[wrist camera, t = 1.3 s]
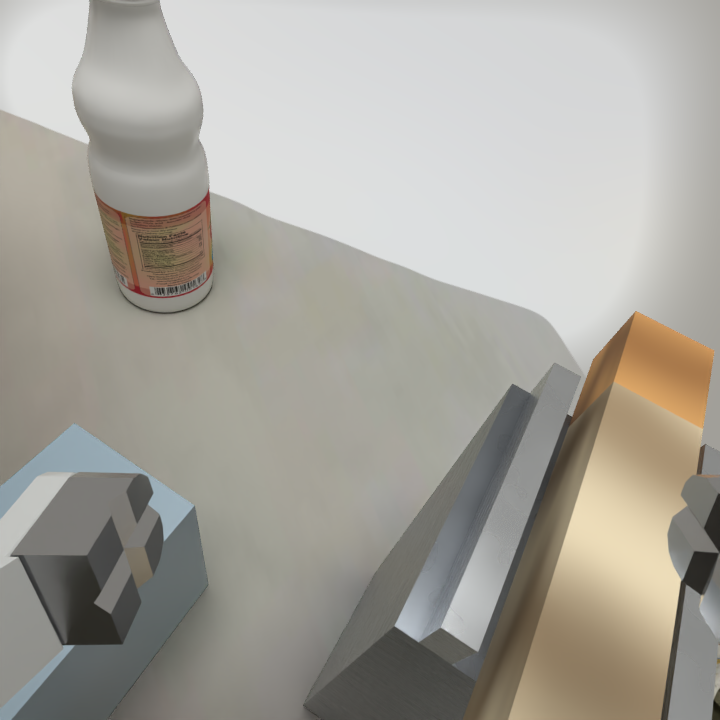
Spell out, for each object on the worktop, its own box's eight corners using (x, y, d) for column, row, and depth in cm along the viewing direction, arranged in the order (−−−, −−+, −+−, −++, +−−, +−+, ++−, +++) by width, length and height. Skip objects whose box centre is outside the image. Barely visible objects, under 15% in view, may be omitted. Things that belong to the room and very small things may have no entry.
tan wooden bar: (449, 1348, 8) (534, 1587, 6) (289, 1196, 9) (308, 1357, 6) (661, 395, 21) (714, 350, 19) (593, 359, 22) (635, 311, 19)
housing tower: (408, 783, 33) (737, 826, 11) (303, 705, 35) (413, 609, 13) (476, 609, 40) (759, 428, 18) (387, 550, 42) (550, 319, 20)
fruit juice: (97, 291, 52) (-6, -49, 30) (156, 239, 58) (106, -78, 36) (179, 329, 51) (135, 6, 29) (231, 272, 57) (226, -32, 35)
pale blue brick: (-24, 893, 27) (-224, 993, 15) (-130, 793, 29) (-385, 816, 17) (208, 584, 38) (194, 505, 26) (123, 523, 39) (74, 423, 28)
